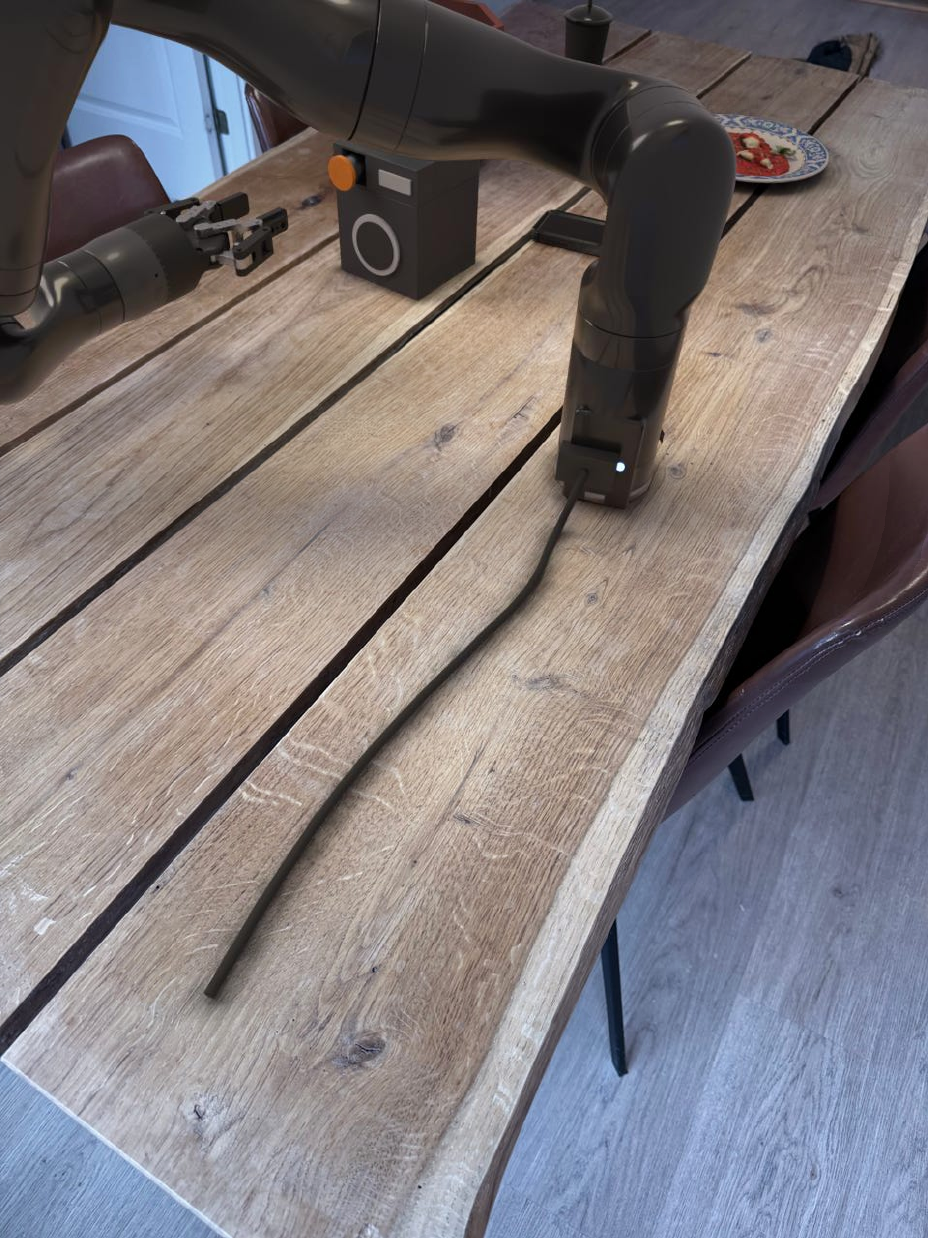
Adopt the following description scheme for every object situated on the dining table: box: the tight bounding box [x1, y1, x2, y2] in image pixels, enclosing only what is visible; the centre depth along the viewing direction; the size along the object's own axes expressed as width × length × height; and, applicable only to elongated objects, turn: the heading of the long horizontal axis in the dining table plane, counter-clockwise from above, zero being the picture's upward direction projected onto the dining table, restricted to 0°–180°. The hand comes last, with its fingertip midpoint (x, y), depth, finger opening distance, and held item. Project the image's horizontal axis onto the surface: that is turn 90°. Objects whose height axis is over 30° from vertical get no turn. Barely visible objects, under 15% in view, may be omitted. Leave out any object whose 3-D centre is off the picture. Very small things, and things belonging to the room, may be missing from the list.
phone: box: [530, 208, 606, 257], centre depth 120 cm, size 8×1×15 cm
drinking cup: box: [563, 0, 614, 66], centre depth 145 cm, size 8×8×20 cm
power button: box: [327, 152, 366, 191], centre depth 102 cm, size 4×4×4 cm
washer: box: [332, 139, 481, 301], centre depth 108 cm, size 13×12×15 cm
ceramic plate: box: [712, 113, 830, 184], centre depth 139 cm, size 26×26×3 cm
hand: (264, 209), depth 94 cm, fingers open, 5 cm apart
